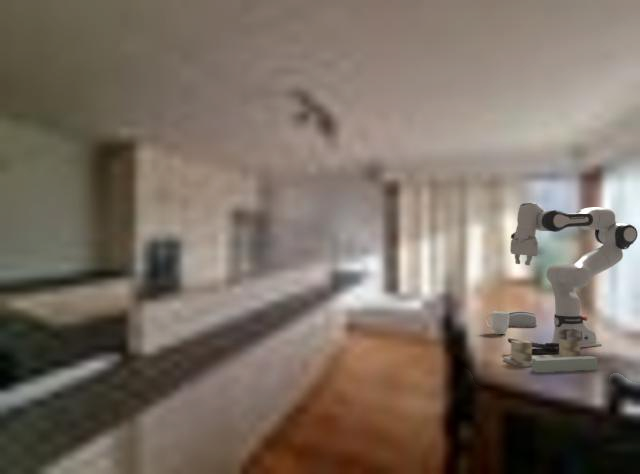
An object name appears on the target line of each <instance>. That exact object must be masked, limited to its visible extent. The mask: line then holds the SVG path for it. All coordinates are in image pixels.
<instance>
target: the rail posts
mask: <svg viewBox="0 0 640 474" xmlns="http://www.w3.org/2000/svg"><path fill="white" fill-rule="evenodd" d="M580 341H582V331H578V330H575V329H559V354H558V355H534V356H533V355H532V349H533V347H532V343H531V342H532V341H528V340H525V339H515V340H511V343H510V347H511V348H510V351H511V352H510V355H511V356H503V362H507V363H508V362H509V364H510V363H511V365H512V364H513V366H514V367H517V368H521V367H522V368H523V367H525V368H526V367H532V359H533V358H555V357H578V356H581V347H580Z"/></svg>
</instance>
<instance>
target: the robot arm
mask: <svg viewBox="0 0 640 474" xmlns="http://www.w3.org/2000/svg"><path fill="white" fill-rule="evenodd" d="M516 219H517V220H516V221H517V226H516V229H515V230H516V231H514V232H513V233H512V234H511V235H510V247H509V248H510V254H511V255H514V259H515V262H514V263H515V264H516V265H521V260H520V257H521V256H526V261H524V265H525V266H530V265H531V261H532V259H533V257H537V255H538V252H539V251H538V250H539V243H538V240H537V239H538V238H537V237H536V231H540V232H554V233H557V232H560V231H563V230H564V229H566V228H571V227H572V228H573V227H577V229H579V230H581V231H582V230H584V231H594V236H595V237H594V238H595V240H596V242H597V243H599V244H601V245H600V247H598V248H595V249H593V250H591V251H589V252H587V253H586V254H583V255H581V256H580V257H579V259H578V261H576V262H573V263H555V264H552V265H550V266H548V268H547V270H546V279H547V280H548V281H549V282H550V285H551V288H552V291H553V294H554V305H555V306H554V307H555V308H554V310H555V314H554V317H553V319H554V320H553V323H554V329H553V330H554V332H553V337H552V341H551V343H559V329H575V330H578V331H582V341H580V348H588V347H590V348H591V347H598V346H602V343H601V341H598V340H597V336H596V332H595V331H594V330H593V329H592V328H590V327H589V326H587V325H586V324H585V323H584V321H585V322H587V321H588V320H589V318H588V317H587V316H582V315H581V300H580V297H579V296H578V295H577V292H576V289H579V288H583V287H586V286H588V285H589V283H590V282H591V279H592V278H594V276H596V275H599V274H601V273H602V272H605V271H607V270H608V269H610V268H612V267H614V266H615V265H617V264H618V263H619V262H620V261H622V259H623V256H624V253H623V250H628V249H629V248H630V246H631V245H633V244H634V243H635V242H636V240H637V239H638V230H637V227H635V225H632V224H630V223H622V222H621V223H620V222H619V223H618V222H616V214H615V213H614V211H613V210H612V209H610V208H606V207H585V208H581V209H578V210H577V211H576V212H575V213H565V212H563V211H562V210H557V209H556V210H555V209H554V210H545V209H543V208H541V207H540V206H539V205H538V203H536V202H525V203H521V204H520V205H519V208H518V212H517V218H516Z"/></svg>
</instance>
